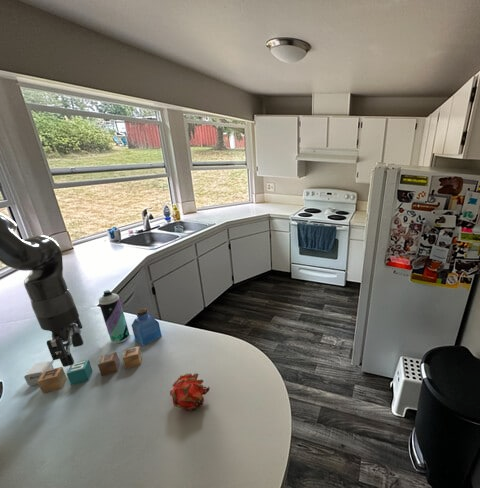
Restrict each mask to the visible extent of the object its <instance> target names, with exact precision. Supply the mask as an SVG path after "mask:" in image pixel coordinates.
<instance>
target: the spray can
mask: <svg viewBox="0 0 480 488" xmlns="http://www.w3.org/2000/svg"><path fill="white" fill-rule="evenodd" d="M98 305H99V308H100V310H101V311H100V312H101V314H102V317H103V320H104V324H105V326H106V330H107V334H108V336H109V339H110V342H111V343H112V344H120V343H123V342H125V341H127V340H128V339H129V338H130V336H131V335H130V331H129V327H128V324H127V319H126V317H125V313H124V310H123V306H122V303H121V299H120V295H119V294H118V293H113V292H111V290H104V291H103V294H102V296H100V297H99V298H98Z"/></svg>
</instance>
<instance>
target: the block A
mask: <svg viewBox="0 0 480 488" xmlns="http://www.w3.org/2000/svg"><path fill="white" fill-rule="evenodd" d="M67 378H68V376H67V374H66V372H65V370H64V367H63V366H59V367H55V368H54V369H51V370H47V371H44V372H43V373H42V375H41V377H40V378H39V380H38V384H37V385H38V386H39V388H40V390H41V393H42V394H46V393H49V392H53V391H57V390H59V389H62V388H63V386H64V384H65V382H66V380H67Z"/></svg>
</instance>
